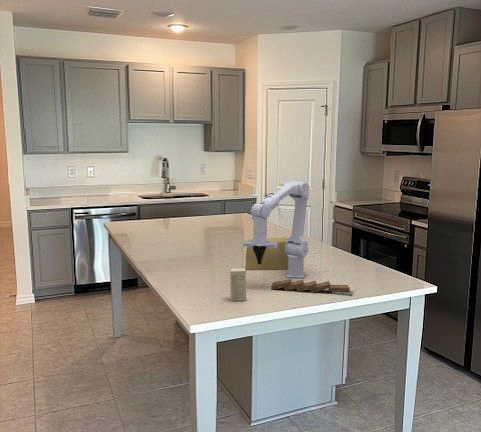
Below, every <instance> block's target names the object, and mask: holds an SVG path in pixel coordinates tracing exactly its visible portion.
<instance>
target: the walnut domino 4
mask: <svg viewBox="0 0 481 432" xmlns="http://www.w3.org/2000/svg"><path fill="white" fill-rule="evenodd" d="M330 285H331V282H330V280H328V281H324V282H323V281H322V282H319V283H317V286H316V288H313V289H309V290H310V293H315V292H319V291H324V290H329V288H330Z"/></svg>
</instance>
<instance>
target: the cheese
mask: <svg viewBox="0 0 481 432" xmlns="http://www.w3.org/2000/svg"><path fill="white" fill-rule="evenodd" d="M288 238H289V237H287V236H282V237H269V238H268V237H267V242H273V243H277V248H270V247H267V248H266V250H265V252H264V255H263V258H262V263H261V264H258V262H257V258H256V255H255V253H254V251H253V247H250V246H246V250H245V269H246V271H273V270H277V271H278V270H281V271H283V270H285V271H286V270H287V271H288V256H287V254H286V253H285V245H286V242H287V239H288ZM247 241H253V238H250V239H247Z"/></svg>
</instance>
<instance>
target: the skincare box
mask: <svg viewBox="0 0 481 432" xmlns="http://www.w3.org/2000/svg"><path fill="white" fill-rule="evenodd" d="M229 274H230V275H229V277H230V279H229V280H230V283H229V285H230V286H229V287H230V301H231V302H237V301H238V302H243V301H247V270H246V267H241V268H230V269H229Z"/></svg>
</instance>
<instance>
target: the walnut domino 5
mask: <svg viewBox="0 0 481 432" xmlns="http://www.w3.org/2000/svg"><path fill="white" fill-rule="evenodd" d="M350 289H351V288H350V286H349V285H348V284H330V288H328V291H329V292H330V293H332V292H350V291H351V290H350Z"/></svg>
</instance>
